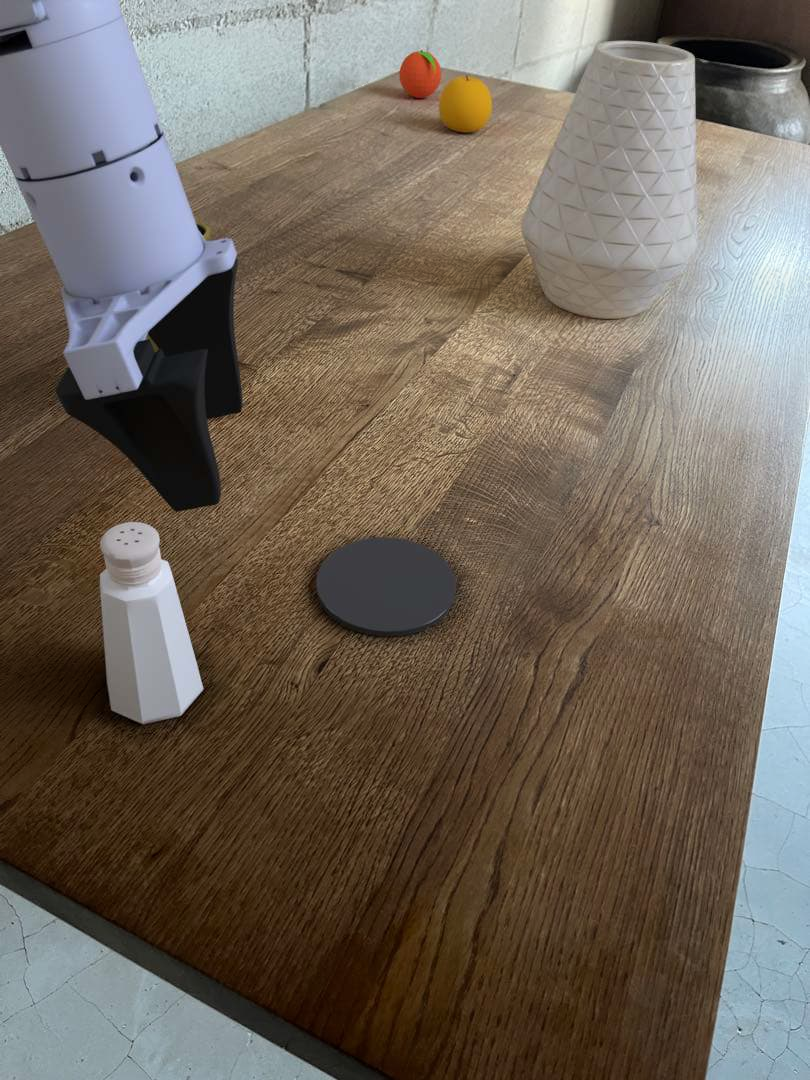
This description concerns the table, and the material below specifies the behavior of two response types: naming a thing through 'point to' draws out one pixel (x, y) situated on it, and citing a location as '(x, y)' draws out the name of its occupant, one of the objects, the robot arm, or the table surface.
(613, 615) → the table surface
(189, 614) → the table surface
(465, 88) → the apple
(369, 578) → the slate coaster
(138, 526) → the pepper shaker
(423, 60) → the clementine
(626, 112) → the vase
